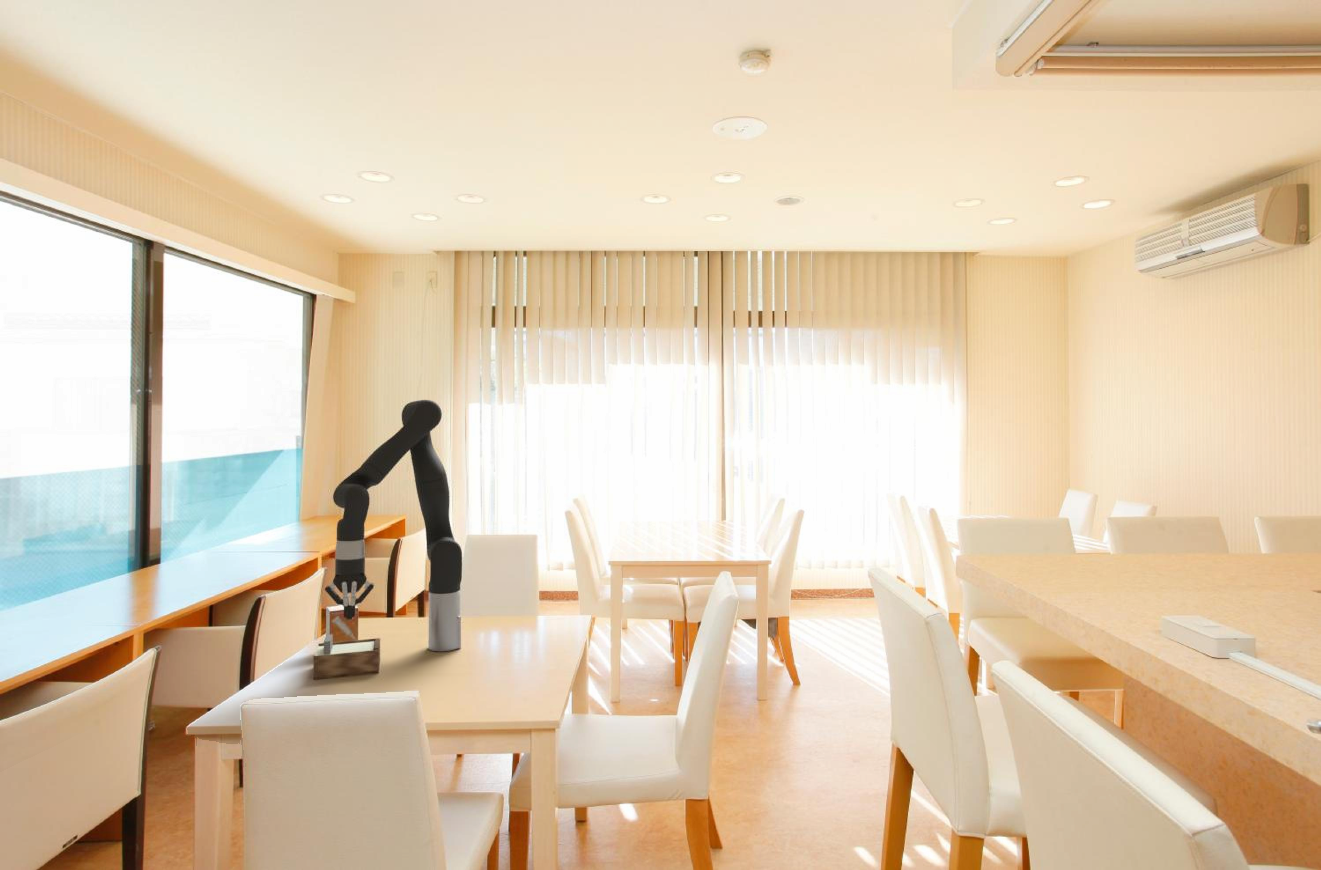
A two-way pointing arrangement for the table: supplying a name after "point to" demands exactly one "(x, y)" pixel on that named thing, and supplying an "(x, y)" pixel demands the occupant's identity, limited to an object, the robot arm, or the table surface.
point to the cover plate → (342, 647)
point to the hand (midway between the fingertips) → (349, 618)
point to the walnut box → (348, 662)
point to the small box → (341, 624)
